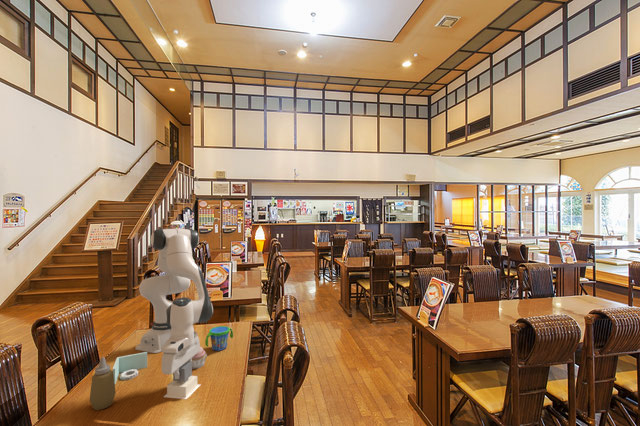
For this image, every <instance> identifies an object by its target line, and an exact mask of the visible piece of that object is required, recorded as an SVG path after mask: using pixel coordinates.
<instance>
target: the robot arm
mask: <svg viewBox="0 0 640 426" xmlns="http://www.w3.org/2000/svg"><path fill="white" fill-rule="evenodd" d="M149 242H150V245H151V247H152V248H153V249H154V250H158V259H157V265H156V266H157V268H158V269H159V270H160V271H162V272H163V273H166V274H163V275H156V276H151V277H148V278H144V279H142V280H141V282H140V283H139V286H138V289H139V290H138V291H139V294H140V296H141V297H143V298H144V299H146V300H148V301H149V302H150V303H151V304H152V306H153V312H154V321H152V322H150V326H151V328H150V329H149V330H148V331H146V332H145V333H143V335H142V336H141V338H140V343H139V344H137V345H136V346H135V351H140V352H141V351H142V352H147V353H151V354H157V353H163V354H162V356H161V372H162V374H164V375H173V373H174V374H175V379H179V378H180V377H181V373H179V371H178V370H179V368H180V367H181V366H182V365H183V364H185V363H186V362H188V363H191V361H192V357H193V356H195V355H196V354H197V353H198V352H199V350H200V347H201V344H200V337H199V336H198V332H196V331H195V328H194V324H196V323H198V324H199V323H200V324H202V323H207V322H208V321H210V320H211V319H212V318H213V314H214V307H213V303H212V301H211V299H210V295H209V291H208V288H207V284H206V281H205V280H206V279H205V276H204V274H203V270H202V268H201V266H200V265H198V264H196V262H195V261H194V258H193V250H194V249H196V248H197V247H198V245H199V242H200V236H199V233H198V231H197V230H195V229H187V228H177V227H176V228H157V229H155V230H153V231H152V234H151V235H150V241H149ZM191 281H192V282H193V283H194V285H195V287H196V290H197V295H198V299H195V300H193V299H191V298H189V297H186V296H185V297H177V298H175V299H174V300H173V301H172V300H169V299H167V296H169V295H174V294H179V293H180V294H181V293H182V292H185V291H187V290H188V289H189V288H190V286H191Z"/></svg>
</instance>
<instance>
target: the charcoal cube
mask: <svg viewBox="0 0 640 426" xmlns="http://www.w3.org/2000/svg"><path fill="white" fill-rule="evenodd" d="M178 371H179V373H181V377H180V378H179V379H175V374H174V373H172V381H184V382H185V381H186V380H187V379H188V378H189V377H190V376H193V369H192V363H188V362H186V363H185V364H183V365H182V366H181V367H180V368H179V370H178Z"/></svg>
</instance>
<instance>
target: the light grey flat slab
mask: <svg viewBox="0 0 640 426" xmlns="http://www.w3.org/2000/svg"><path fill="white" fill-rule="evenodd" d="M200 386H201V384H199V383H197V387H196V388H195V389H194V390H193V391H192V392H191V393H190V394H189V395H188V396H187V397H177V396H167V393H166V394H165V395H164V396H163V398H170V399H179V400H180V399H181V400H187V399H188V398H190V396H191V395H193V393H194V392H195V391H196V390H197V389H199V387H200Z"/></svg>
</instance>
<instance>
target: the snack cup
mask: <svg viewBox="0 0 640 426" xmlns="http://www.w3.org/2000/svg"><path fill="white" fill-rule="evenodd" d="M229 337H230V339H233V337H234V330H233V328H230V327H229V326H225V325H221V326H220V325H218V326H214V327H212V328H210V329H209V331H208V333H207V335H206V336H205V340H204V341H205V342H204V345H205V346H206V347H209V339H210V342H211V348H212V350H213V351H215V352H216V351H217V352H219V351H223V350H225V349H227V346H228V342H229V341H228V340H229Z"/></svg>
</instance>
